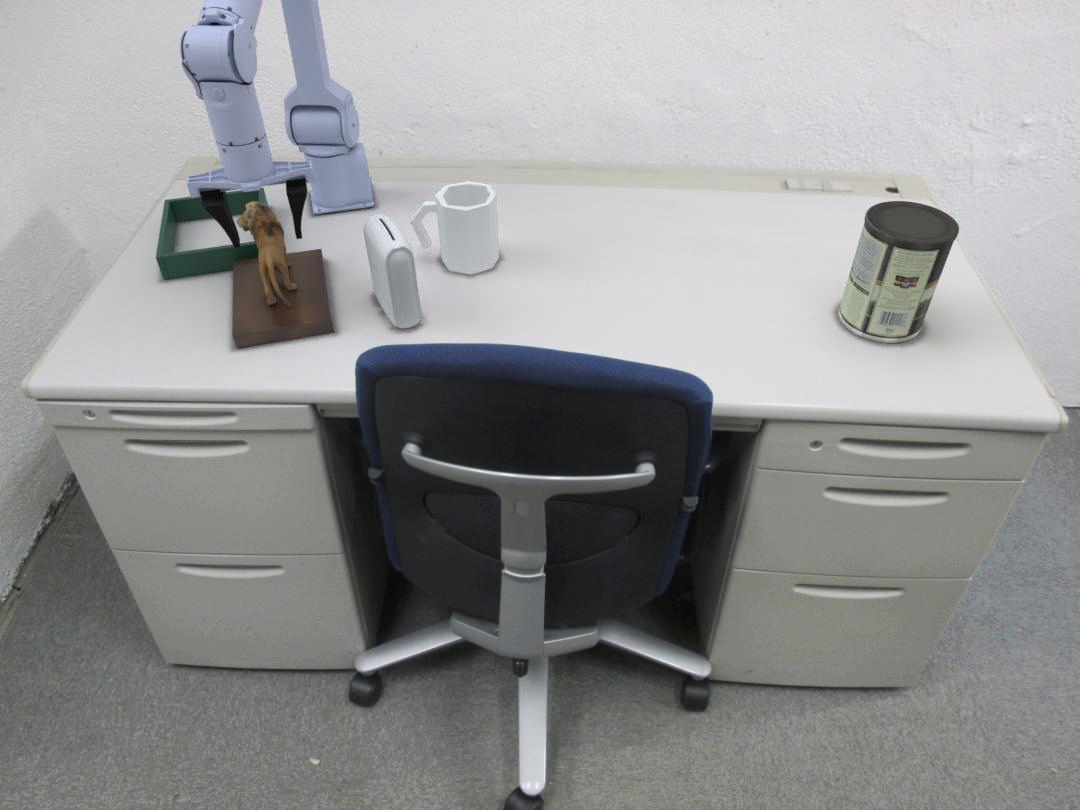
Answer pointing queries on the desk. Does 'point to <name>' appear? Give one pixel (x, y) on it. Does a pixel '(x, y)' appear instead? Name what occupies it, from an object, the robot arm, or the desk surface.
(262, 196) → the storage box
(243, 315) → the stand
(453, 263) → the mug
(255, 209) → the lion figurine
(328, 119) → the robot arm
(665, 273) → the desk surface
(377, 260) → the photo printer
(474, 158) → the desk surface
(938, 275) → the coffee can
